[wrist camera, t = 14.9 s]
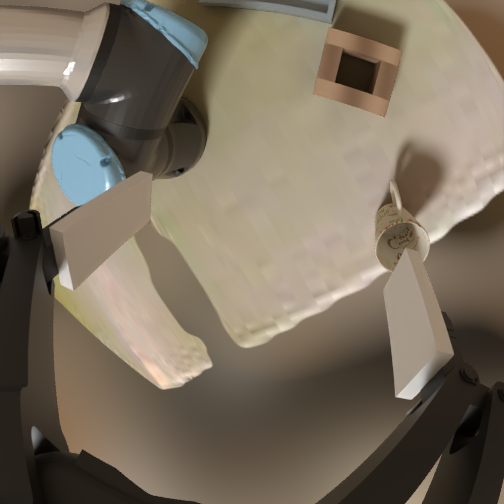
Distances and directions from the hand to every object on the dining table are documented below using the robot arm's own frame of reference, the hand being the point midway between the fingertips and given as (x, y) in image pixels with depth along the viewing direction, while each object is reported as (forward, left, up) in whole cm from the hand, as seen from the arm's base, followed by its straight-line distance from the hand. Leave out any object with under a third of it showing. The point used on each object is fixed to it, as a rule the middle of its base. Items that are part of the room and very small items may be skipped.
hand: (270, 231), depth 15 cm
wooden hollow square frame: (+4, +11, -35) cm, 37 cm away
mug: (+16, -8, -35) cm, 39 cm away
